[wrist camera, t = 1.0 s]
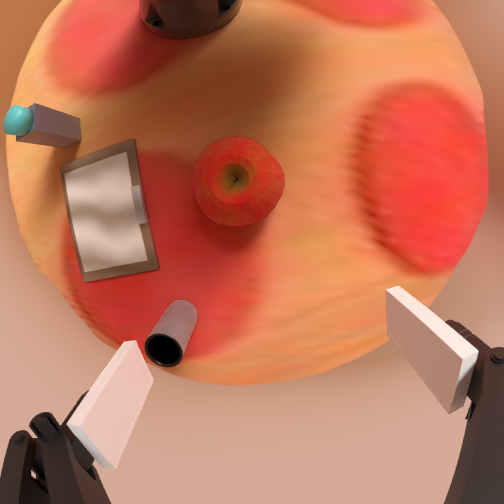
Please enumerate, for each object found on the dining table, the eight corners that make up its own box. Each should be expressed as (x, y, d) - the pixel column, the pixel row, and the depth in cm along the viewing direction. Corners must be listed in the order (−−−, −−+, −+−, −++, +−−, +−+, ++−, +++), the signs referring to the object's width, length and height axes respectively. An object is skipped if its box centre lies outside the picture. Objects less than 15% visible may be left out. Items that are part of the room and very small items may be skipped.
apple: (292, 165, 35) (308, 155, 25) (256, 237, 37) (258, 255, 27) (219, 130, 34) (207, 108, 24) (184, 203, 36) (159, 208, 26)
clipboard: (61, 166, 34) (57, 165, 33) (134, 139, 34) (131, 137, 33) (85, 281, 38) (81, 283, 37) (159, 268, 38) (157, 270, 37)
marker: (61, 126, 33) (3, 112, 20) (79, 118, 33) (22, 99, 20) (63, 148, 34) (2, 139, 21) (81, 140, 34) (21, 127, 21)
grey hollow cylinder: (175, 293, 39) (152, 326, 28) (203, 309, 39) (189, 347, 29) (162, 317, 39) (138, 354, 29) (189, 333, 40) (173, 374, 30)
